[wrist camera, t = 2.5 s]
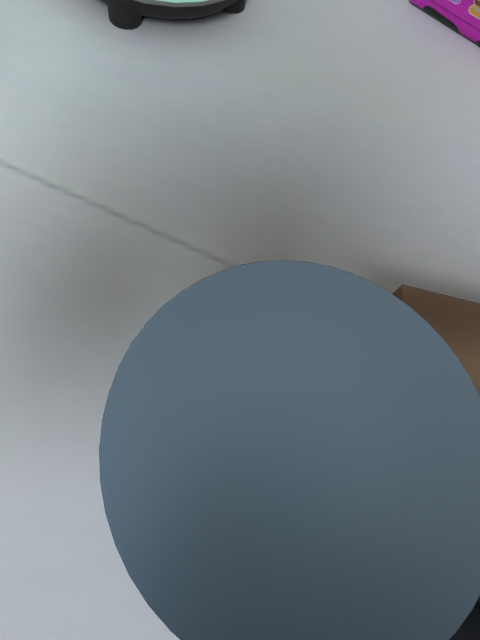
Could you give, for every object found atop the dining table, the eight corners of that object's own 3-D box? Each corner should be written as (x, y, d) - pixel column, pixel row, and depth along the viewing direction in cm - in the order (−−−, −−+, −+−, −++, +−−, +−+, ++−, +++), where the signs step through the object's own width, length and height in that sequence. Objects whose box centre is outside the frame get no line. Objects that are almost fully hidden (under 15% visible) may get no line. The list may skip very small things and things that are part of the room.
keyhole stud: (300, 550, 17) (646, 604, 5) (142, 622, 15) (120, 964, 3) (244, 400, 19) (401, 195, 7) (100, 447, 17) (-6, 273, 5)
